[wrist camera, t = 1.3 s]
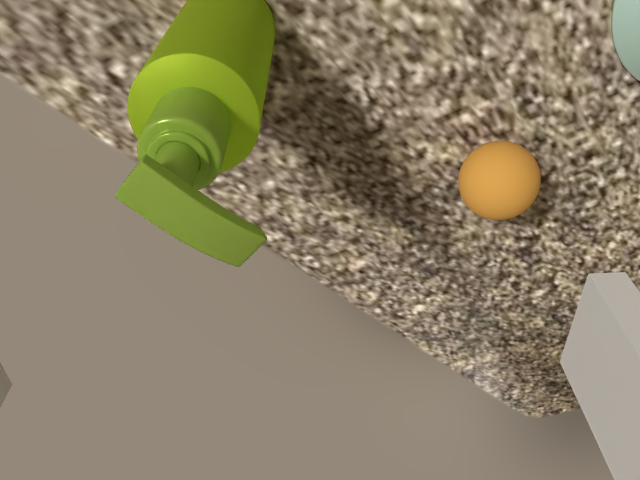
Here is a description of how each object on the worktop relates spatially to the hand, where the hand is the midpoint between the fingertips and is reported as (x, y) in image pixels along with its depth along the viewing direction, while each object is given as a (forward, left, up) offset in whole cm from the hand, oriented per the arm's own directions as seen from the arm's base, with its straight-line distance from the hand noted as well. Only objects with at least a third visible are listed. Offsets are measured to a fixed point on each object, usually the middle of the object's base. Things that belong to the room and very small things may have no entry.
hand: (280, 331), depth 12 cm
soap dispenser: (+4, +2, -28) cm, 28 cm away
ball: (-14, +11, -25) cm, 31 cm away
